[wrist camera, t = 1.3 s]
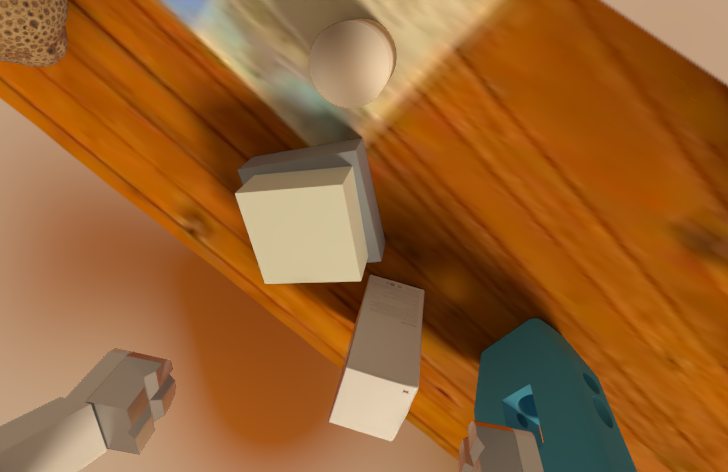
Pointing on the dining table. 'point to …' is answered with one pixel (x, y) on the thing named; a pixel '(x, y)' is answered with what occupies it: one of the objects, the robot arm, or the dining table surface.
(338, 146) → the tower base
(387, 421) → the small box
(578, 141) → the dining table surface
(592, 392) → the block
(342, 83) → the beige rounded cylinder
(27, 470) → the robot arm
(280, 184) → the tower top
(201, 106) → the dining table surface
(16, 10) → the natural sponge
